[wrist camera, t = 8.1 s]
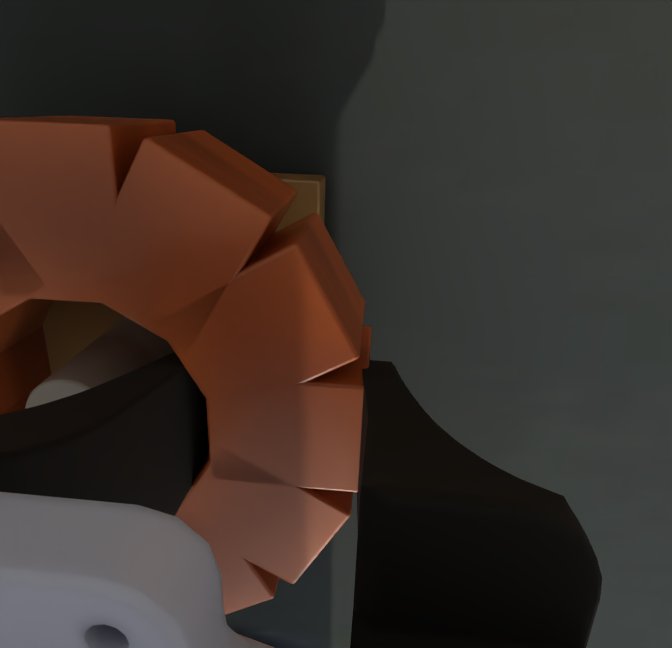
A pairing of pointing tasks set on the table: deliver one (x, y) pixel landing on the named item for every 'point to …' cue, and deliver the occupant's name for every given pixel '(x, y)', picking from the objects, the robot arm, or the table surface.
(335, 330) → the ring
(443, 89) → the table surface
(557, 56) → the table surface
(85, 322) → the rack
